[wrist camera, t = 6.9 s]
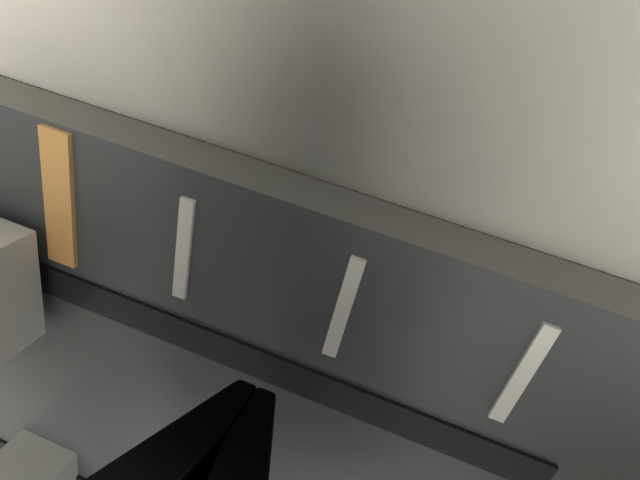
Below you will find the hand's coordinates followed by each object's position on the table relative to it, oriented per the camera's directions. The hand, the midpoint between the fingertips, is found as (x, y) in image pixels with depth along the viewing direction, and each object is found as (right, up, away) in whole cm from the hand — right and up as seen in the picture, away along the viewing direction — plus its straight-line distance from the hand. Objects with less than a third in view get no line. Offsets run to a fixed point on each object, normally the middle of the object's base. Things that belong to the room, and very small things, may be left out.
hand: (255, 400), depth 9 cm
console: (-2, -2, +4) cm, 5 cm away
